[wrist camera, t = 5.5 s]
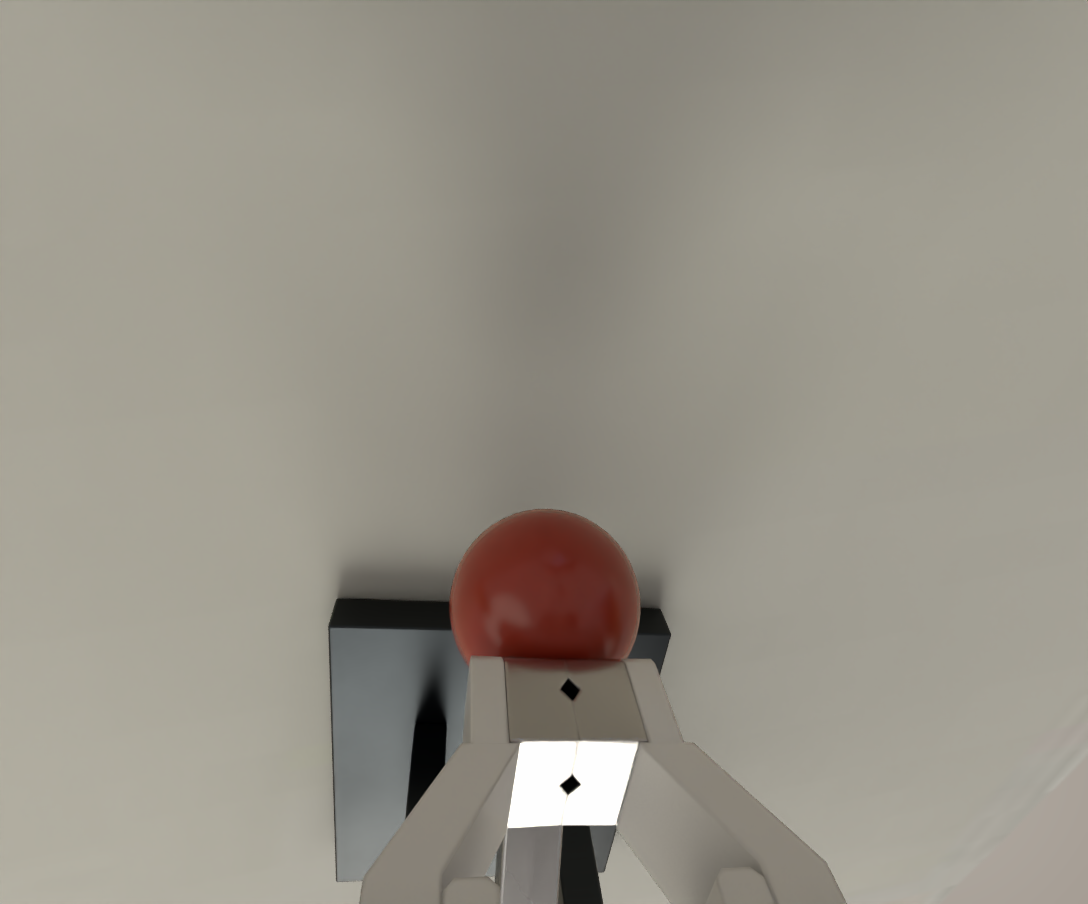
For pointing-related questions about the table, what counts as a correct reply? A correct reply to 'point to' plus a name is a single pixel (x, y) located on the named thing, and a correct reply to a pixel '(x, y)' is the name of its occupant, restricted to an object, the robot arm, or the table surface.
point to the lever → (542, 636)
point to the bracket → (422, 730)
